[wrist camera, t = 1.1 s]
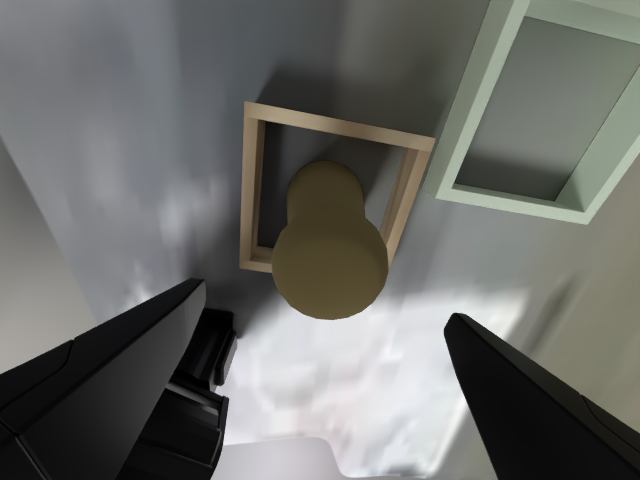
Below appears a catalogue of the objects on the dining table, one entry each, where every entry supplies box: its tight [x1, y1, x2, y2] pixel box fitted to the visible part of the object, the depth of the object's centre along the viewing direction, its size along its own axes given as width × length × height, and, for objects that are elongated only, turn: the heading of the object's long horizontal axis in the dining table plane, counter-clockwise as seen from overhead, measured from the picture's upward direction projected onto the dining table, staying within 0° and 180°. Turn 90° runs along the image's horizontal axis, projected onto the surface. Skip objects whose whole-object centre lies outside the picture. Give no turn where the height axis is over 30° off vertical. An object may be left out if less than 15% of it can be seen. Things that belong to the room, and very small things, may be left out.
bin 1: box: [239, 101, 436, 273], centre depth 18 cm, size 12×12×2 cm
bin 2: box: [422, 0, 640, 225], centre depth 16 cm, size 12×12×2 cm
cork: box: [272, 160, 389, 320], centre depth 15 cm, size 6×6×11 cm
